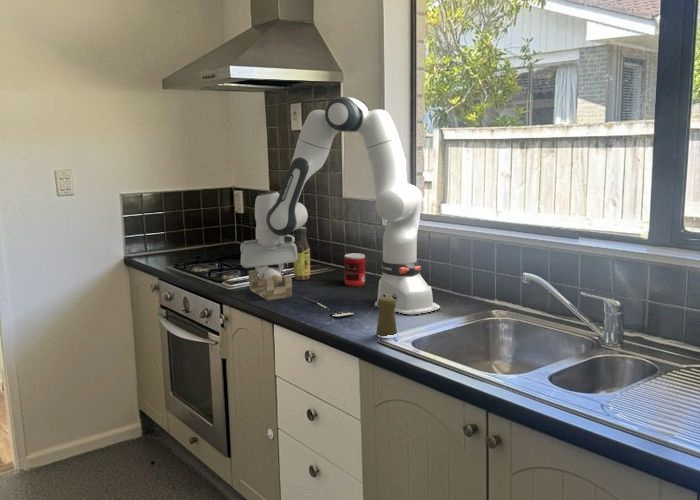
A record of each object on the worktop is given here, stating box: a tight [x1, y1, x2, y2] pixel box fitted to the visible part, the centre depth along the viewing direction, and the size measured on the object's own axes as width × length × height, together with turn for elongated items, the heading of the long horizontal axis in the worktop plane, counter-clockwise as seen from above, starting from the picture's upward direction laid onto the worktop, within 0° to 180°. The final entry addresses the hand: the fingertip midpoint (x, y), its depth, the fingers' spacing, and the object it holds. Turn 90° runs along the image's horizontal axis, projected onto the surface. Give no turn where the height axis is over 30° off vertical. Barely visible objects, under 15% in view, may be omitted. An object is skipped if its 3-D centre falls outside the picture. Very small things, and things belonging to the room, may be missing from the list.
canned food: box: [343, 252, 366, 288], centre depth 247 cm, size 8×8×11 cm
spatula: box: [301, 296, 354, 318], centre depth 219 cm, size 6×29×2 cm, turn 31°
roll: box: [258, 265, 282, 286], centre depth 235 cm, size 16×5×5 cm, turn 29°
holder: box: [248, 267, 293, 301], centre depth 236 cm, size 18×9×7 cm, turn 29°
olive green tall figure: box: [376, 297, 398, 336], centre depth 188 cm, size 6×6×11 cm
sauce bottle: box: [293, 226, 311, 281], centre depth 256 cm, size 7×6×20 cm
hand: (270, 277), depth 235 cm, fingers closed on roll, 5 cm apart
